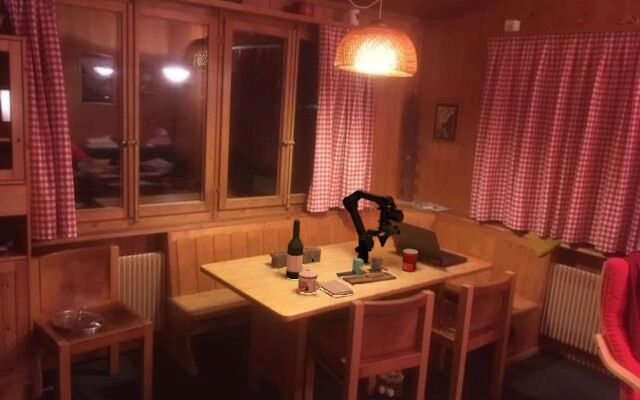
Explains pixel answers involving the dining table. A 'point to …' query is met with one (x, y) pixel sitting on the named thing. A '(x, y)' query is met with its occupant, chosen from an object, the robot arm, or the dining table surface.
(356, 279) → the hole board
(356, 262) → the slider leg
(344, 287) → the washcloth
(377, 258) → the gauge rail
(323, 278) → the dining table surface
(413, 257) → the canned food
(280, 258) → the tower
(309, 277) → the teacup with lid
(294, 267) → the wine bottle
